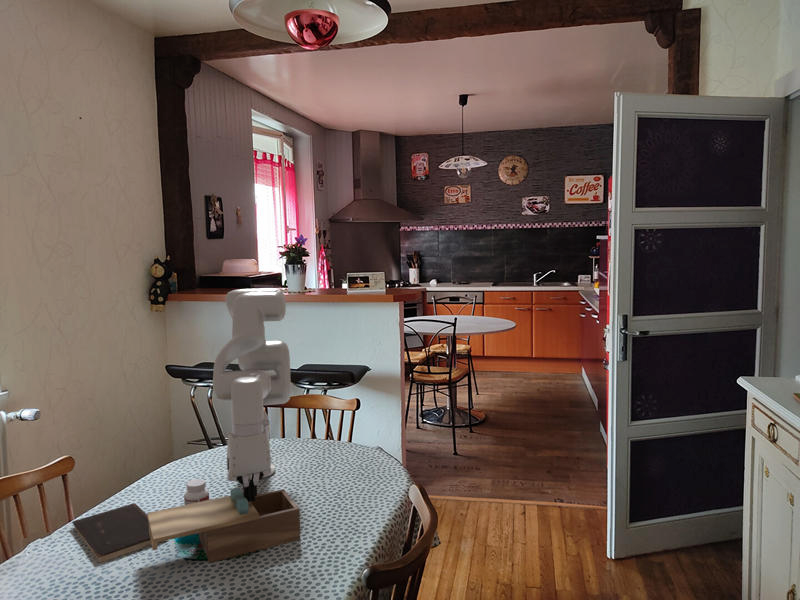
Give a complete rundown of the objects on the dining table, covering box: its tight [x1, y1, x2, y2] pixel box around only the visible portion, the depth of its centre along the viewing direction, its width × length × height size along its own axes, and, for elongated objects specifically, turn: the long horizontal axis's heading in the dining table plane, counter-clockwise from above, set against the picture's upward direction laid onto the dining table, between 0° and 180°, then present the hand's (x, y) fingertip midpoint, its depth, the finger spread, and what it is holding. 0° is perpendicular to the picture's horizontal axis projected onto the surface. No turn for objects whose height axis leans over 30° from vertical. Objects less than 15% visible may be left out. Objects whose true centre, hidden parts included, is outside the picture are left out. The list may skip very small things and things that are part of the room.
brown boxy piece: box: [198, 488, 301, 564], centre depth 143 cm, size 13×22×8 cm, turn 118°
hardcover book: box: [71, 502, 152, 563], centre depth 147 cm, size 16×23×2 cm
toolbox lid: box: [146, 487, 259, 551], centre depth 138 cm, size 14×23×7 cm, turn 118°
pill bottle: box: [183, 478, 210, 505], centre depth 152 cm, size 6×6×11 cm
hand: (250, 499), depth 143 cm, fingers closed
